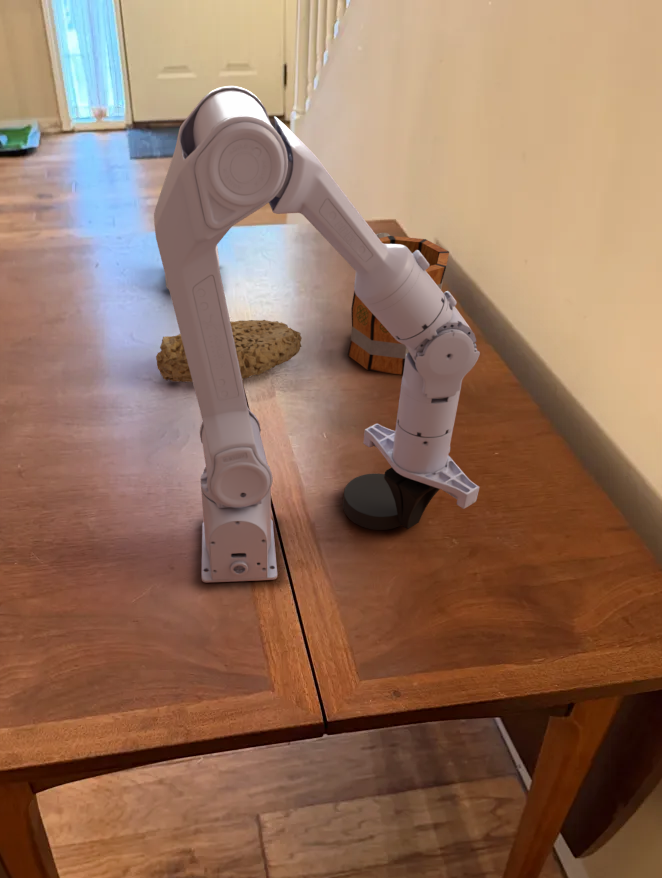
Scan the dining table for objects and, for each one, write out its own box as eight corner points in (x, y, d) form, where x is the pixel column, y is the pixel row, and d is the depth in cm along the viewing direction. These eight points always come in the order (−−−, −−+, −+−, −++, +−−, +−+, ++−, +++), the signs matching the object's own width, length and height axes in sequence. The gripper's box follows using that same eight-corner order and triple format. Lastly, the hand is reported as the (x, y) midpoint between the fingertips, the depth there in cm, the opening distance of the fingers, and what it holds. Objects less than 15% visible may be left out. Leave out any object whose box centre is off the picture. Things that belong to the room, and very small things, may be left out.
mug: (447, 371, 114) (465, 272, 103) (357, 378, 112) (366, 278, 102) (411, 310, 128) (423, 217, 118) (330, 315, 126) (335, 222, 116)
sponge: (163, 402, 110) (302, 379, 106) (147, 348, 106) (291, 323, 102) (179, 370, 121) (306, 348, 117) (166, 320, 117) (296, 297, 113)
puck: (417, 529, 88) (419, 515, 87) (347, 531, 88) (349, 518, 86) (404, 485, 94) (406, 471, 93) (338, 487, 94) (339, 474, 92)
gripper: (508, 439, 76) (482, 541, 85) (400, 379, 84) (388, 477, 93) (460, 467, 73) (439, 569, 82) (353, 401, 81) (345, 501, 90)
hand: (409, 522), depth 87 cm, fingers closed
